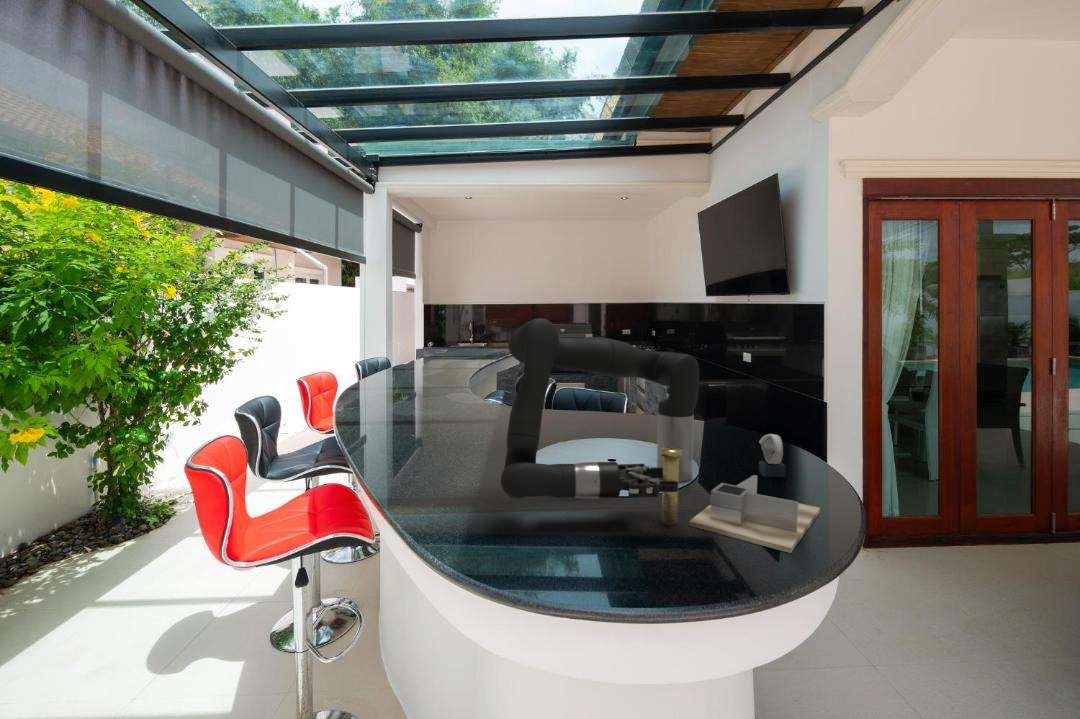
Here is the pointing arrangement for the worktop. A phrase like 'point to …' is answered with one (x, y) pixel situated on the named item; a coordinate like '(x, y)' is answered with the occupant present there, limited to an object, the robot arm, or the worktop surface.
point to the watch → (772, 457)
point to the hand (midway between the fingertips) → (672, 479)
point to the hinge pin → (670, 473)
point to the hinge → (752, 506)
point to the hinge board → (760, 529)
